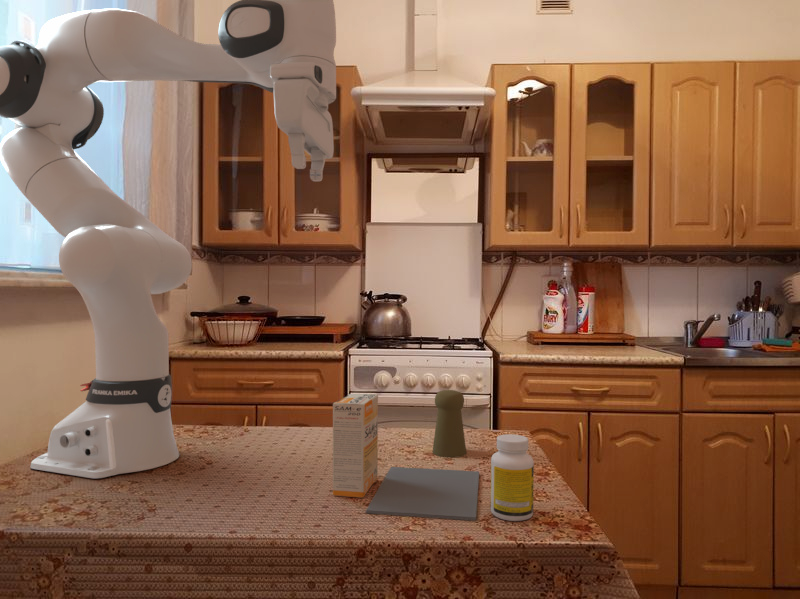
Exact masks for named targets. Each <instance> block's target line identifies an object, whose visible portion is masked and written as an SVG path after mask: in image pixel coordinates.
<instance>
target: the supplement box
mask: <svg viewBox="0 0 800 599" xmlns="http://www.w3.org/2000/svg"><path fill="white" fill-rule="evenodd" d="M378 407H379V395H378V394H371V393H369V394H368V393H349V394H347V395H346V396H343V397H342V398H340V399H338V400H337V401H335V402H333V403H332V495H333V496H337V497H349V498H358V499H361V498H362V499H363V498H364V497H365V496H366V494H367V493H368V491H369V490H370V489H371V487H372V486H373V484H375V482H376V481H377V480H378V460H379V459H378V447H379V446H378V445H379V444H378V442H379V441H378V440H379V438H378V437H379V436H378V433H379V430H378V429H379V428H378V427H379V426H378V422H379V417H378V414H379V408H378Z"/></svg>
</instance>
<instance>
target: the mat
mask: <svg viewBox="0 0 800 599" xmlns="http://www.w3.org/2000/svg"><path fill="white" fill-rule="evenodd" d="M479 481H480V471H478V470H461V469H460V470H459V469H442V468H441V469H440V468H422V467H420V468H419V467H404V466H403V467H401V466H400V467H399V466H391V467H390V469H389V470H388V471H387V473H386V474H385V476H384V479H383V480H382V482H381V483H380V484H379V487H378V489H377V490H376V492H375V494H374V496H373V497H372V499H371V501H370V502H369V505H368V506H367V508H366V509H365V513H366V514H370V515H371V514H372V515H374V514H375V515H388V516H401V517H417V518H429V519H430V518H432V519H445V520H446V519H447V520H457V521H458V520H461V521H475V522H476V521H477V512H478V511H477V509H478V496H479Z"/></svg>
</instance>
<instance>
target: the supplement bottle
mask: <svg viewBox="0 0 800 599" xmlns="http://www.w3.org/2000/svg"><path fill="white" fill-rule="evenodd" d="M496 449H497V450H498V451H496V452H495V453H493V454H492V456H491V459H490V513H491V514H492V515H493V516H494V517H496V518H498V519H501V520H504V521H510V522H521V521H526V520H529V519H531V518H532V516H533V515H534V478H535V477H534V475H535V474H534V473H535V472H534V470H535V469H534V468H535V467H534V466H535V464H534V459H533V456H531V455H530V454H528V453H527V452H528V450H529V438H528V437H526V436H524V435H520V434H513V433H512V434H511V433H509V434H508V433H507V434H500V435H498V436H496Z"/></svg>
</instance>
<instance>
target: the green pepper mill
mask: <svg viewBox="0 0 800 599" xmlns="http://www.w3.org/2000/svg"><path fill="white" fill-rule="evenodd" d="M434 404H435V407H436V408H437V414H436V420H435V421H436V423H435V430H434V438H433V443H432V445H433V446H432V454H433V455H434V456H436V457H440V458H460V457H464V456H466V455H467V447H466V439H465V430H464V421H463V417H462V414H463V413H462V409H463V407H464V406H465V405H464V404H465V397H464V395H463V393H462V392H461V391H458V390H454V389H445V390H440V391H437V393H436V394H435V397H434Z"/></svg>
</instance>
